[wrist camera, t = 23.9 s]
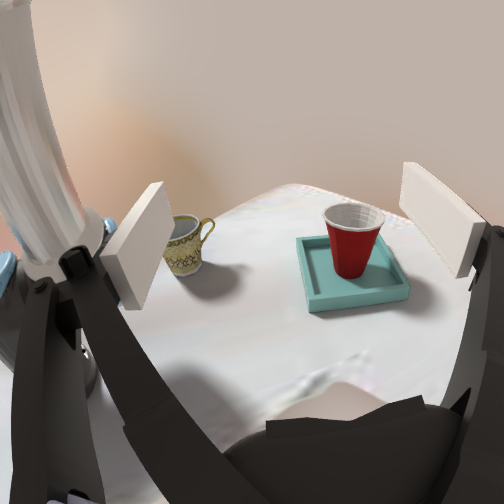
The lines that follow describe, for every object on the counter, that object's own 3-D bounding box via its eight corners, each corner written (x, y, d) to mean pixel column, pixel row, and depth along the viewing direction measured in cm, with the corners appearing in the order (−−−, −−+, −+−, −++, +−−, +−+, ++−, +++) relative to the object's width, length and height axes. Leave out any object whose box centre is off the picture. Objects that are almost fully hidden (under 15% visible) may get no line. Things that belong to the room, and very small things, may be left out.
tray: (308, 312, 47) (309, 299, 45) (296, 249, 62) (296, 237, 60) (407, 299, 46) (410, 286, 44) (376, 242, 61) (377, 230, 59)
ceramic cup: (168, 288, 56) (153, 247, 50) (160, 262, 64) (147, 224, 58) (229, 267, 60) (220, 224, 54) (214, 244, 67) (205, 205, 62)
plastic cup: (372, 252, 56) (379, 199, 49) (380, 288, 48) (391, 230, 41) (320, 251, 59) (321, 197, 52) (320, 287, 50) (322, 228, 43)
